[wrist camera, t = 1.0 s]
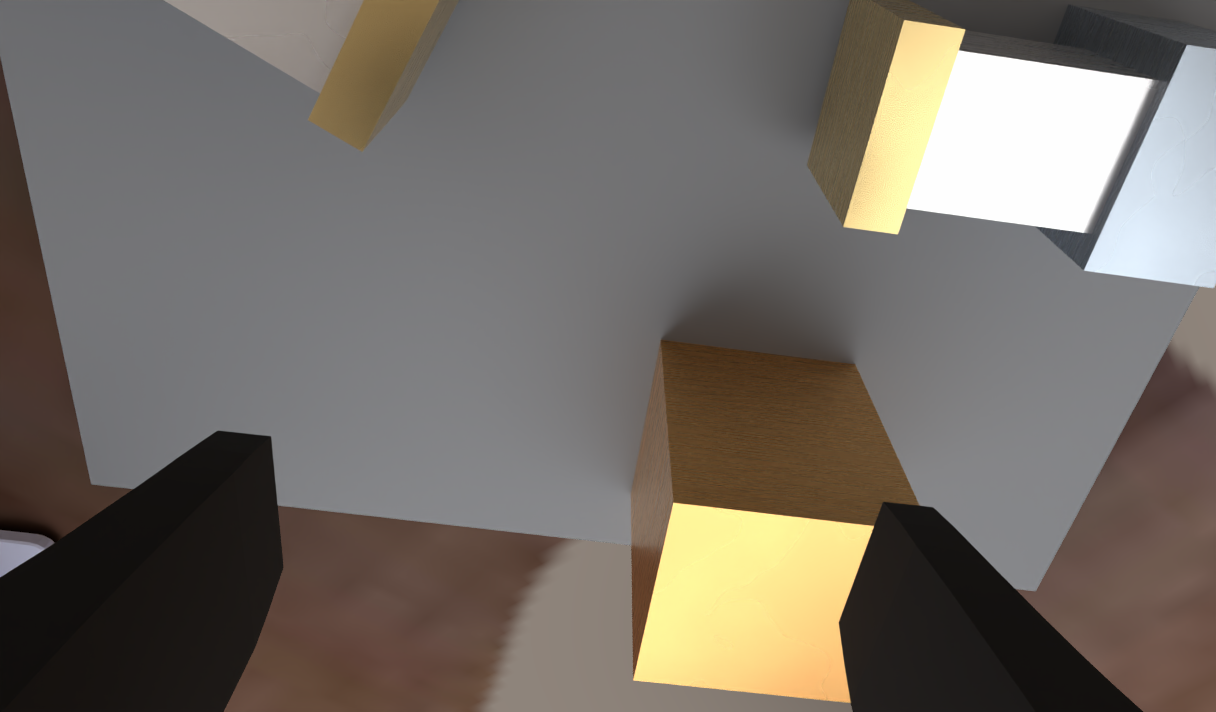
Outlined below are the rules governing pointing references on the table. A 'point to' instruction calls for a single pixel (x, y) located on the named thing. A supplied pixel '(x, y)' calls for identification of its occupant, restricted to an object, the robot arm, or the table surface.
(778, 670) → the brown square block
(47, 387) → the table surface
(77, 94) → the base board
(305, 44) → the shaft rig
